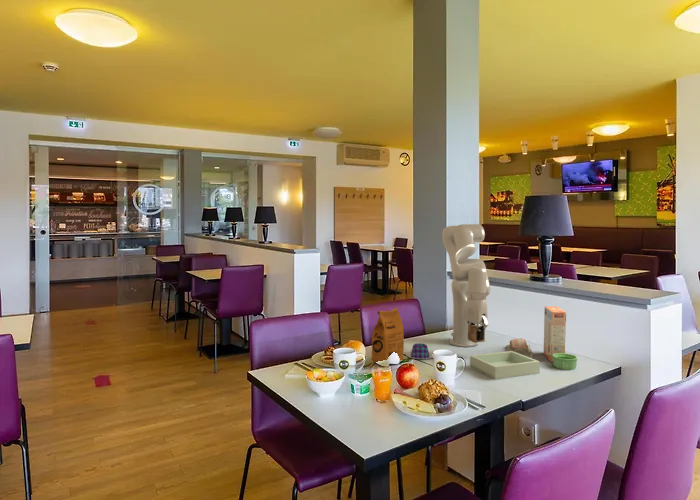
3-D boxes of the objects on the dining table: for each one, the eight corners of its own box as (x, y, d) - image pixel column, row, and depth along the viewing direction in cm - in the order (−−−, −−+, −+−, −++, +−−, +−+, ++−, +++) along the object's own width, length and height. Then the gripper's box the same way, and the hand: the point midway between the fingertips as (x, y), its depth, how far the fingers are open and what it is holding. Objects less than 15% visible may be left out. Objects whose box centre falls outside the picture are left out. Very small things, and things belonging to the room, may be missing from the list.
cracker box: (565, 363, 191) (566, 312, 190) (550, 362, 192) (550, 311, 191) (557, 353, 205) (558, 306, 203) (543, 353, 206) (543, 305, 205)
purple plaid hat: (433, 353, 208) (433, 341, 208) (435, 361, 196) (435, 348, 196) (406, 352, 209) (406, 340, 209) (405, 360, 198) (405, 348, 197)
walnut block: (467, 339, 201) (467, 325, 201) (477, 338, 203) (477, 324, 203) (474, 342, 197) (474, 328, 196) (484, 341, 198) (484, 327, 198)
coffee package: (368, 362, 193) (367, 309, 192) (390, 357, 201) (390, 306, 200) (384, 368, 186) (384, 313, 184) (407, 362, 193) (407, 309, 192)
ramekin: (582, 368, 185) (582, 357, 184) (567, 371, 180) (568, 360, 180) (561, 362, 192) (561, 351, 192) (547, 365, 188) (547, 355, 188)
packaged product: (533, 347, 198) (508, 346, 201) (533, 359, 198) (508, 357, 201) (529, 337, 215) (506, 336, 218) (529, 348, 216) (506, 347, 218)
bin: (470, 366, 187) (470, 355, 186) (511, 361, 193) (511, 350, 193) (495, 379, 172) (495, 367, 171) (539, 373, 178) (539, 361, 178)
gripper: (458, 293, 205) (457, 334, 207) (481, 300, 189) (480, 344, 191) (472, 292, 207) (472, 332, 209) (497, 298, 191) (496, 342, 193)
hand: (476, 337), depth 200 cm, fingers closed on walnut block, 4 cm apart
